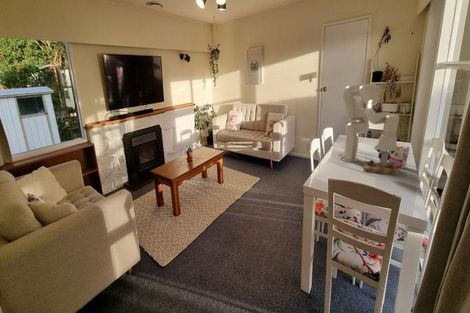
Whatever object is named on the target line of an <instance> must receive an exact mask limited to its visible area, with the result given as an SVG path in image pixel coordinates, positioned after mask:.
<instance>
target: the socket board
mask: <svg viewBox="0 0 470 313" xmlns="http://www.w3.org/2000/svg"><path fill="white" fill-rule="evenodd" d="M362 168H363V172H368V173H375V174H385V175H392V176H399V174H400V170H399V168H398V167H397V165H396V164H390V162H388V161H387V164H384V163H380V161H379V162H377V161H375V160H373V159H370V160H368V161H365V160H363V163H362Z"/></svg>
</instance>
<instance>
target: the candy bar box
mask: <svg viewBox="0 0 470 313" xmlns="http://www.w3.org/2000/svg"><path fill="white" fill-rule="evenodd" d="M396 148H397V150H398V151H397V152H394V153H392V154H391V155H390V159H389V160H387V162H390V164H396V165H397V167H398V169H400V170H401V169H406V165H407V161H408V158H409V157H408V156H409V152H410V146H406V145H403V144H399V143H396Z"/></svg>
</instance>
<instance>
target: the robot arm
mask: <svg viewBox="0 0 470 313" xmlns="http://www.w3.org/2000/svg"><path fill="white" fill-rule="evenodd" d="M380 92H381V91H380V86H379V85H378V84H376V83H373V84H368V83H367V84H352V85H348V86H346V87H345V88H344V90H343V93H342V98H343V101H344V106H345V115H346V119H347V121H352V122H349V123H347V124H346V125H345V141H344V142H345V143H344V151H343V153H340V152H338V154H337V156H338V157H341V160H342V161H343V162H349V163H356V162H358V161H359V158H358V157H357V156H358V155H357V154H358V148H359V139H360V138H359V136H358V135H359V134H365V133H367V132H369V129H370V123H371V124H372V125H381V124H383V128H382V129H383V130H381V131H379V134H380V136H379V139H378V142H377V145H375V146H374V150H375V151H377V153H378V155H377V156H378V159H379V160H380V159H381V155H382V154H381V152H382V150H383V151H388V152H389V155H388V160H389V159H390V155H391V154H392V153H394V152H397V151H398V150H397V148H396V144H397V140H398V139H397V130H398V125H399V120H400V116H399V115H396V114H392V113H391V112H389V111H387V112H386V111H385V112H376V111H375V110H374V108H373V107H375V106H376V105H377V104H378V103H379V101H380V98H379V97H378V95H379V93H380ZM355 97H360V98H361V99H362V101H363V102H364V104H365V107H358V102H357V100H356V98H355ZM388 160H387V161H388Z"/></svg>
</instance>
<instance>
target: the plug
mask: <svg viewBox="0 0 470 313" xmlns="http://www.w3.org/2000/svg"><path fill="white" fill-rule="evenodd" d="M381 154H382V155H381V159H379V163H384V164H387V162H388V155H389V151H386V150H382V152H381Z"/></svg>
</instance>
